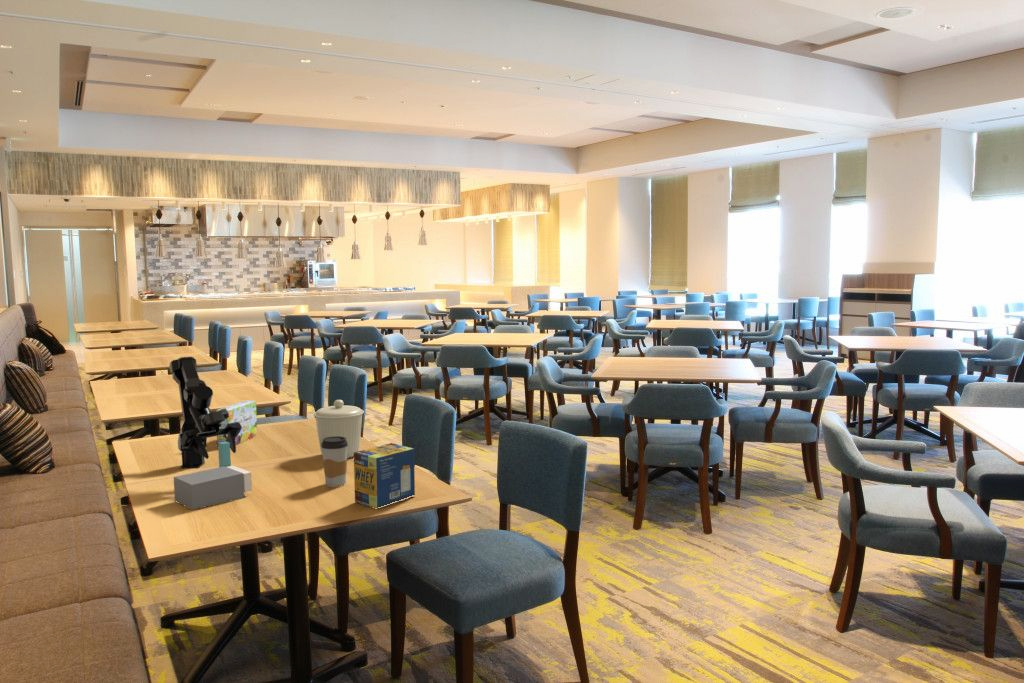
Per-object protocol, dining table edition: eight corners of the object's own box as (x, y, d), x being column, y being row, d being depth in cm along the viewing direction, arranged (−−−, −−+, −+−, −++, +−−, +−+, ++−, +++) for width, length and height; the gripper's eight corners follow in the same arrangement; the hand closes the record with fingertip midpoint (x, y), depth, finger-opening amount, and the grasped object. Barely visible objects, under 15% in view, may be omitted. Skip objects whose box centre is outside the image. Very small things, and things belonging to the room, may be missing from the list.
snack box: (229, 448, 297) (227, 410, 295) (216, 448, 298) (214, 409, 296) (258, 436, 318) (256, 400, 316) (245, 435, 319) (244, 399, 317)
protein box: (354, 502, 231) (352, 452, 229) (393, 490, 242) (392, 442, 241) (376, 510, 224) (375, 457, 222) (416, 497, 236) (415, 447, 234)
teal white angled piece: (197, 503, 226) (195, 460, 224) (174, 492, 236) (171, 451, 235) (251, 490, 238) (250, 449, 237) (227, 480, 249) (225, 441, 247)
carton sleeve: (193, 510, 225) (191, 484, 224) (175, 501, 233) (173, 477, 232) (244, 497, 236) (243, 473, 235) (225, 489, 244) (224, 466, 243)
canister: (311, 453, 289) (309, 397, 287) (358, 447, 297) (357, 393, 294) (320, 464, 273) (318, 406, 271) (370, 459, 280) (368, 401, 278)
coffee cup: (353, 482, 252) (352, 437, 250) (340, 489, 244) (338, 442, 242) (331, 479, 255) (330, 435, 253) (317, 486, 247) (315, 440, 245)
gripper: (182, 406, 242) (201, 445, 236) (237, 397, 256) (256, 435, 250) (172, 427, 248) (190, 466, 242) (227, 418, 262) (245, 455, 256)
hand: (221, 455), depth 247 cm, fingers open, 9 cm apart
